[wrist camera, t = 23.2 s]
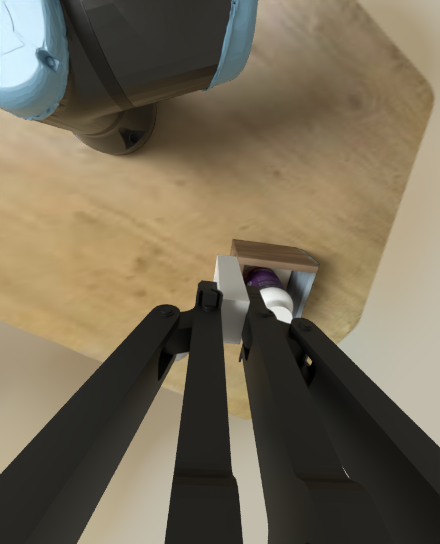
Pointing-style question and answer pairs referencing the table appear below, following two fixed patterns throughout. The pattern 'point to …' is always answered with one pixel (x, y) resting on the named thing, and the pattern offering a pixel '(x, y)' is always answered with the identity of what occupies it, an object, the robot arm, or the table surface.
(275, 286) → the pill bottle
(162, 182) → the table surface
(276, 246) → the wooden drawer box
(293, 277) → the grey drawer
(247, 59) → the robot arm
